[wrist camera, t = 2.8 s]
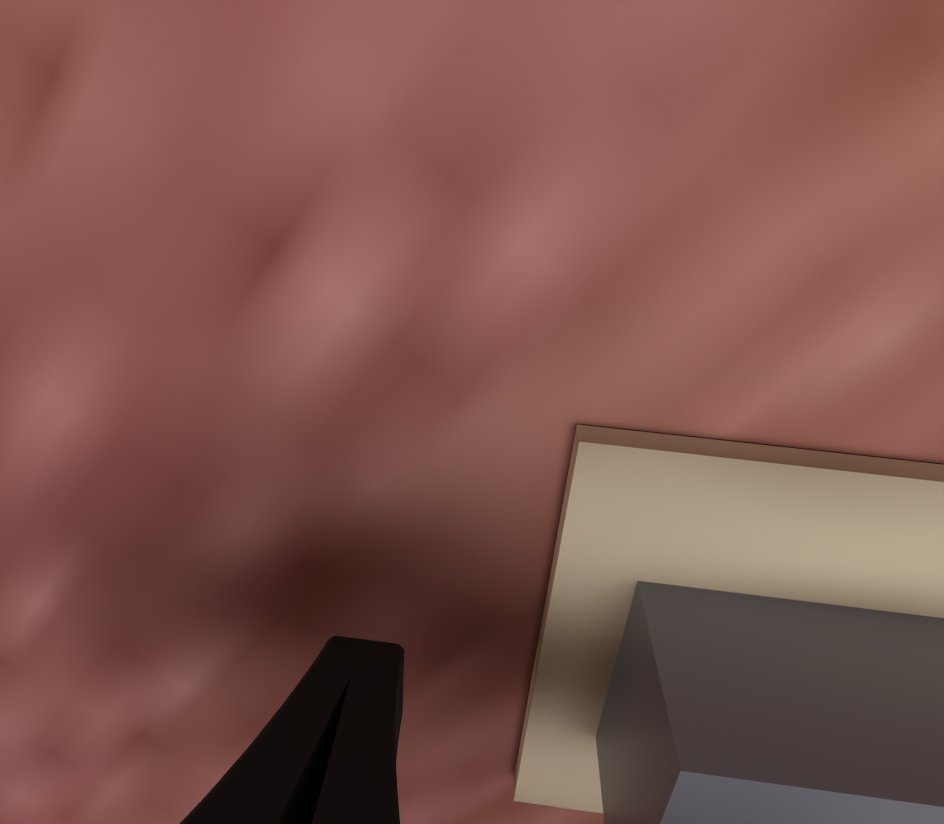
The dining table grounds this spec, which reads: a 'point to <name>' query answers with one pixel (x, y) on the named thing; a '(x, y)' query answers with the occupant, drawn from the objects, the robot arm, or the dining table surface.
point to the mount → (709, 562)
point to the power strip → (772, 713)
